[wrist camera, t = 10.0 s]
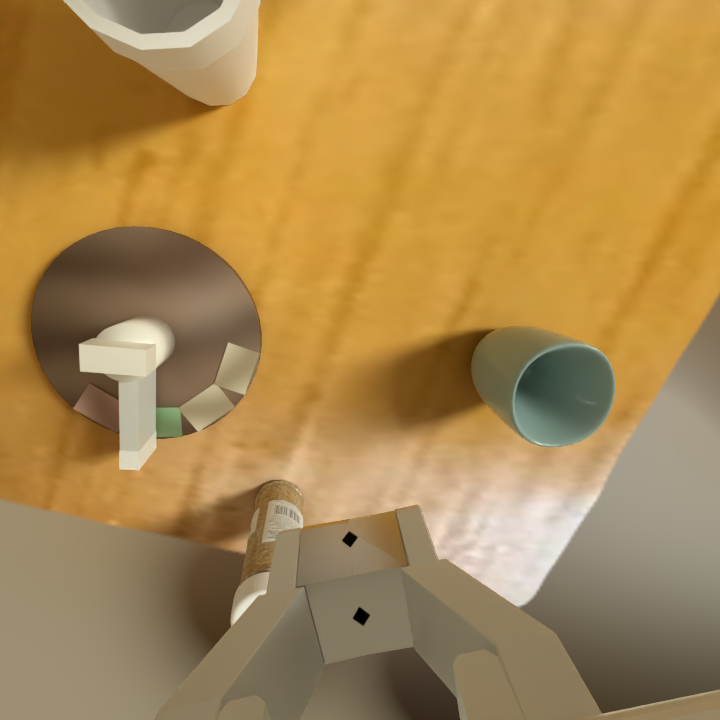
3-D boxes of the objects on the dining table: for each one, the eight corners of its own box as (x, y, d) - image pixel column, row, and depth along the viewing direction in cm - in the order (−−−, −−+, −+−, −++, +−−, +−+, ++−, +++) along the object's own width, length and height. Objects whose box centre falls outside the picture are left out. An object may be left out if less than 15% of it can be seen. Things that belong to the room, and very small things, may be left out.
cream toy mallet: (120, 312, 32) (78, 326, 26) (175, 317, 33) (146, 333, 27) (122, 444, 35) (84, 484, 29) (173, 447, 35) (146, 487, 29)
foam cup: (157, 133, 31) (52, 54, 18) (126, -20, 28) (-21, -233, 16) (288, 123, 31) (274, 42, 19) (269, -26, 29) (238, -234, 16)
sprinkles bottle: (245, 499, 39) (213, 624, 26) (282, 469, 39) (268, 580, 26) (279, 529, 40) (264, 663, 27) (315, 500, 40) (317, 622, 27)
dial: (7, 244, 31) (-6, 244, 30) (237, 212, 32) (234, 211, 31) (80, 448, 36) (72, 455, 35) (279, 414, 37) (278, 419, 36)
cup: (459, 404, 39) (508, 455, 29) (458, 321, 37) (511, 347, 27) (539, 395, 40) (612, 442, 30) (542, 313, 38) (622, 336, 28)
